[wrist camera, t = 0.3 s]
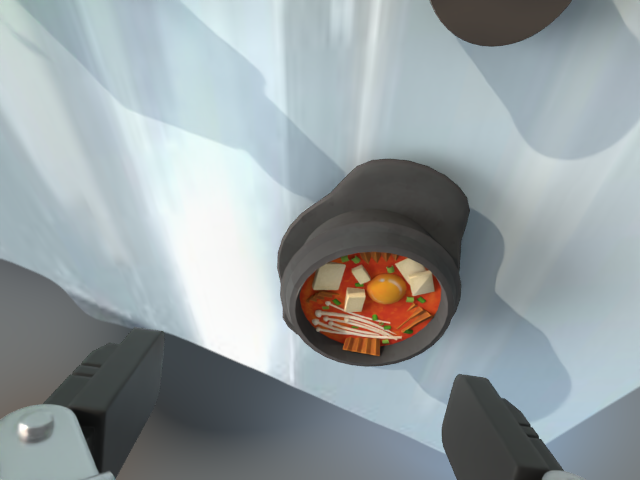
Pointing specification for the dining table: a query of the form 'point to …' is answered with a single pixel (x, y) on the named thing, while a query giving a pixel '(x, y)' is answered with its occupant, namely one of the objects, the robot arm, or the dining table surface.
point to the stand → (497, 18)
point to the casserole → (375, 264)
